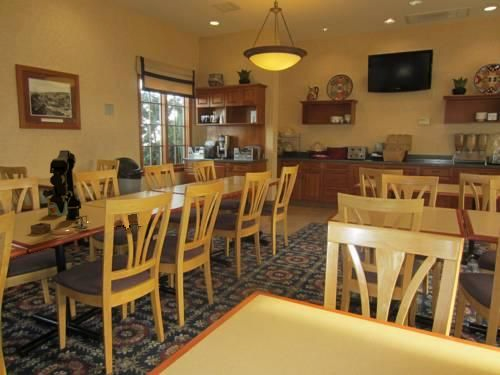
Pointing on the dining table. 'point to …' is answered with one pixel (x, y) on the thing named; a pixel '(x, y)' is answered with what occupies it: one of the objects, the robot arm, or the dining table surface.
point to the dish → (63, 231)
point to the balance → (81, 222)
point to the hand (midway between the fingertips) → (62, 212)
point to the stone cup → (131, 218)
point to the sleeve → (40, 228)
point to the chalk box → (52, 208)
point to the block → (63, 211)
